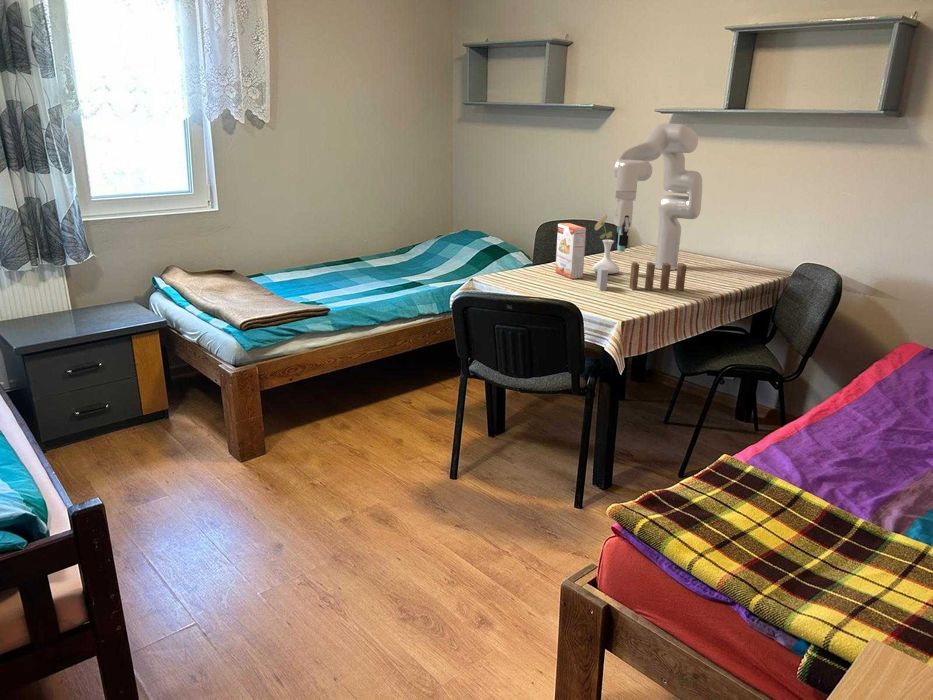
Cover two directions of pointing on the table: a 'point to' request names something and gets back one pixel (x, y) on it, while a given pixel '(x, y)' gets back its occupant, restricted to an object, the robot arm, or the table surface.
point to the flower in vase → (606, 249)
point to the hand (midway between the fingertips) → (621, 244)
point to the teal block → (620, 248)
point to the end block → (602, 277)
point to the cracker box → (570, 250)
